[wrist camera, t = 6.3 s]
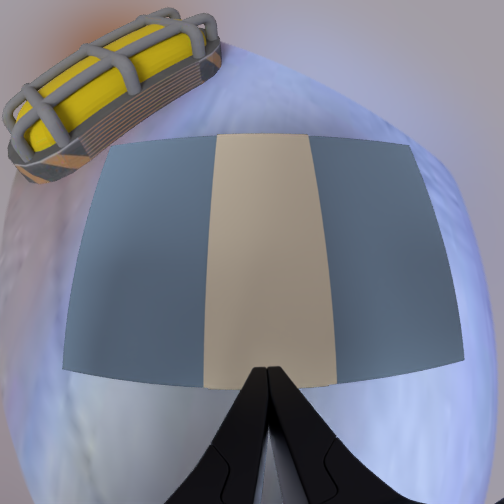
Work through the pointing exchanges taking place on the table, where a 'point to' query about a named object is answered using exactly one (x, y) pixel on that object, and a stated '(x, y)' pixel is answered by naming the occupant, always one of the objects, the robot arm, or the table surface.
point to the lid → (261, 264)
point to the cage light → (108, 91)
